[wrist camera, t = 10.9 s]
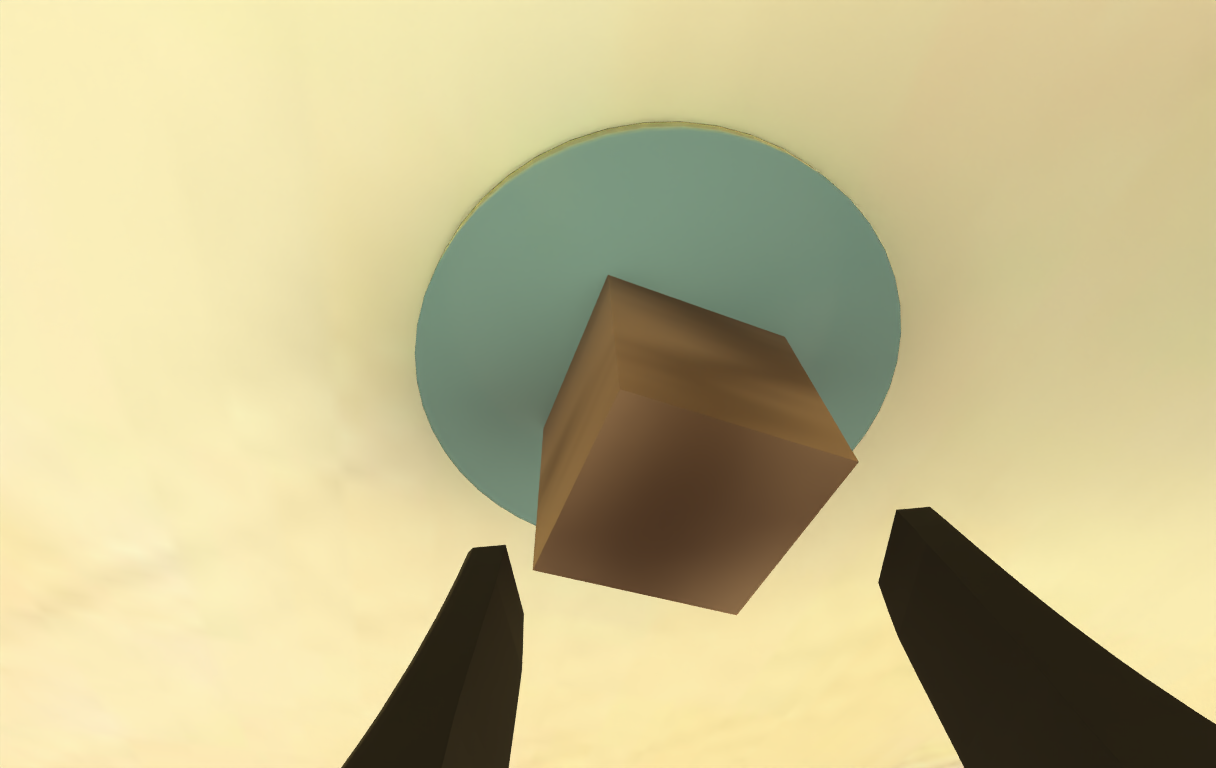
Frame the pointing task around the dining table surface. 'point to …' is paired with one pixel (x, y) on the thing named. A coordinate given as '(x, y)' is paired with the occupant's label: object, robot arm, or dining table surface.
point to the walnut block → (681, 453)
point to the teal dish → (644, 282)
